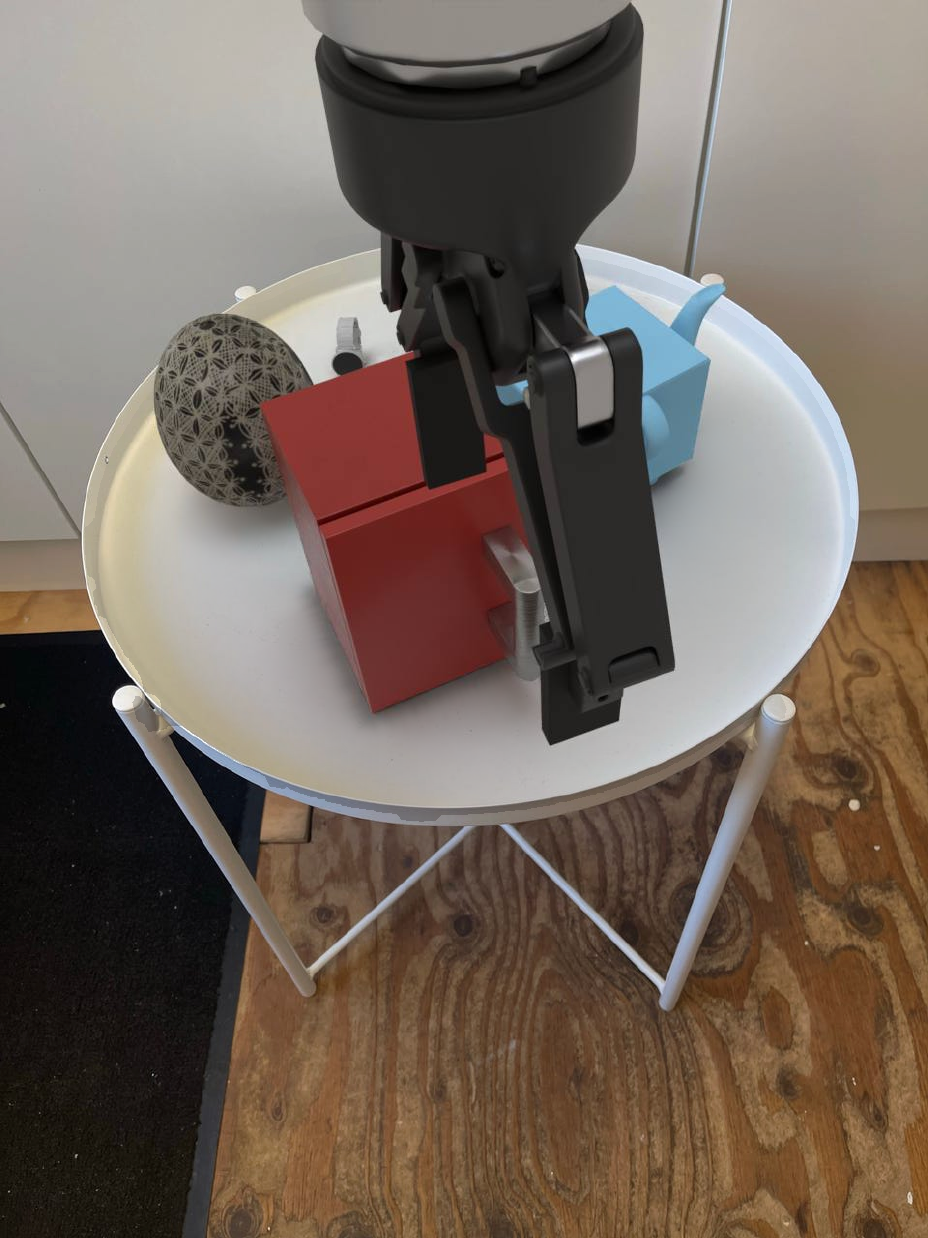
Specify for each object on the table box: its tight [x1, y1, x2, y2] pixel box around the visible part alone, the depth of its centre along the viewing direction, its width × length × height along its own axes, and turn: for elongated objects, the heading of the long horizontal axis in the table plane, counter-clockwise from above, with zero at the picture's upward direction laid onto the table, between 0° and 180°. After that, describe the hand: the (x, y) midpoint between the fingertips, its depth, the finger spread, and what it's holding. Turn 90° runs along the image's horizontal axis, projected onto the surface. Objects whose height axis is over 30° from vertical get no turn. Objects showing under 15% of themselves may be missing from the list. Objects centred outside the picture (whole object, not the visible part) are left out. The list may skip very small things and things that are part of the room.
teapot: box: [496, 283, 726, 486], centre depth 71 cm, size 18×16×13 cm
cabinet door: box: [319, 457, 546, 714], centre depth 56 cm, size 6×12×18 cm, turn 114°
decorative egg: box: [153, 313, 315, 508], centre depth 70 cm, size 12×12×15 cm
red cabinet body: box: [259, 351, 504, 699], centre depth 61 cm, size 10×12×18 cm
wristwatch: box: [330, 316, 367, 377], centre depth 82 cm, size 3×5×5 cm, turn 1°
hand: (511, 588), depth 39 cm, fingers open, 13 cm apart
